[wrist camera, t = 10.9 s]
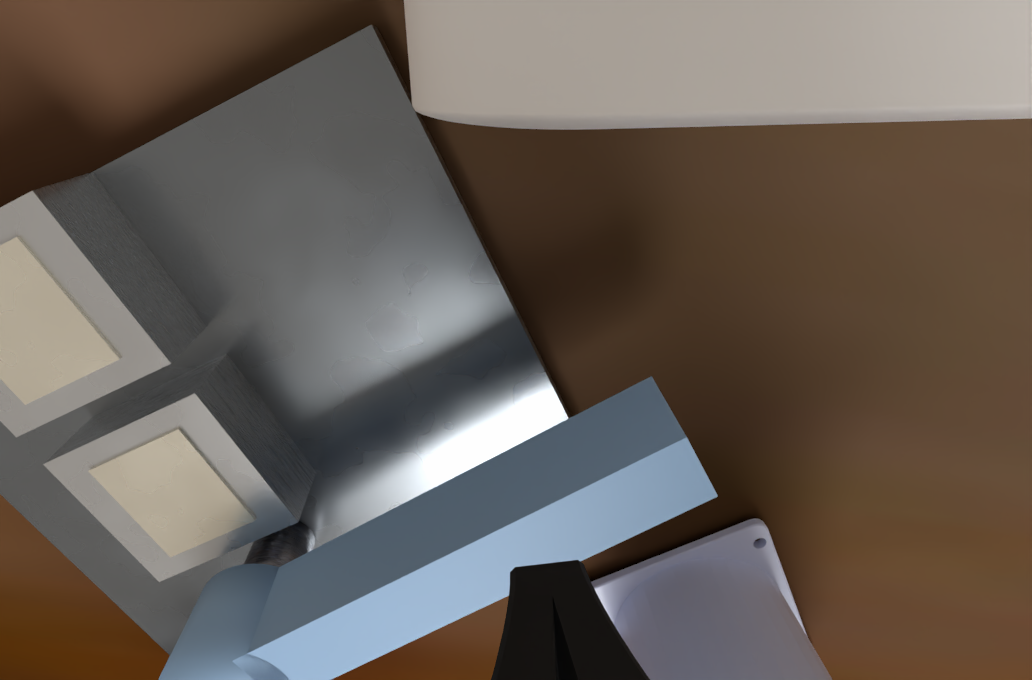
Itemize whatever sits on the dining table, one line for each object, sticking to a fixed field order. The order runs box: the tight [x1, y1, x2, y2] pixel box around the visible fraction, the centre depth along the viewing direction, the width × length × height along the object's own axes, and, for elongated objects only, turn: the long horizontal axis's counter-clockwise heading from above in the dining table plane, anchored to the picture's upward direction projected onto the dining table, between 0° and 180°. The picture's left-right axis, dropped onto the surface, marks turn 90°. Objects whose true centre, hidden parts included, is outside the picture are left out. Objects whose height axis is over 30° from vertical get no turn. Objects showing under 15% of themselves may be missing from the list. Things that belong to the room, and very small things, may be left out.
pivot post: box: [244, 521, 315, 567], centre depth 21 cm, size 2×2×4 cm
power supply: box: [43, 353, 316, 582], centre depth 19 cm, size 5×5×3 cm
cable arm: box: [159, 376, 718, 680], centre depth 17 cm, size 16×4×3 cm, turn 119°
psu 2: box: [0, 172, 207, 437], centre depth 17 cm, size 5×5×3 cm
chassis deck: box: [0, 25, 571, 655], centre depth 21 cm, size 18×18×1 cm
